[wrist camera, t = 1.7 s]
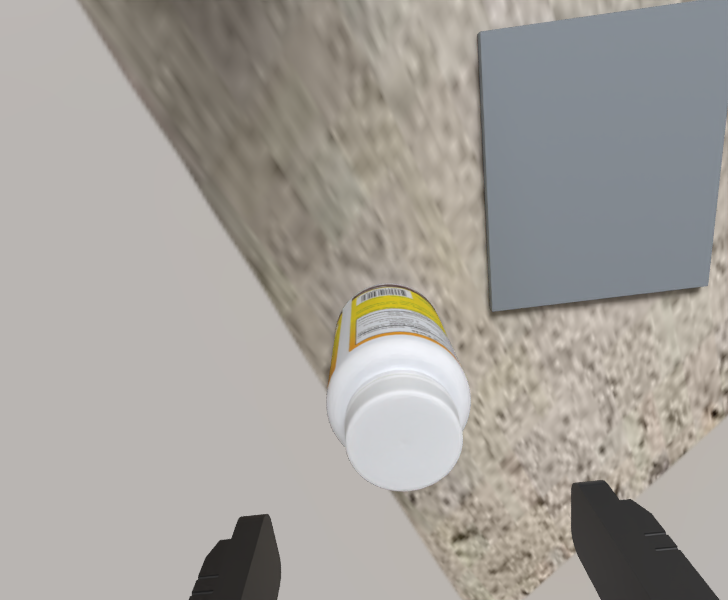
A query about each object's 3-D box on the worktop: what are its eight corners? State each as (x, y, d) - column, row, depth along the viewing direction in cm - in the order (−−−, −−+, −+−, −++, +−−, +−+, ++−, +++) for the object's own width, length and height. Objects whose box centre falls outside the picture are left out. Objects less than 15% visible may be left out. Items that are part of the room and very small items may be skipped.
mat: (477, 34, 21) (480, 31, 20) (731, -3, 20) (739, -6, 20) (489, 308, 25) (492, 311, 24) (701, 283, 24) (707, 285, 24)
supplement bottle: (386, 393, 26) (400, 538, 17) (315, 329, 25) (284, 445, 15) (461, 328, 25) (522, 444, 15) (389, 257, 24) (406, 334, 14)
